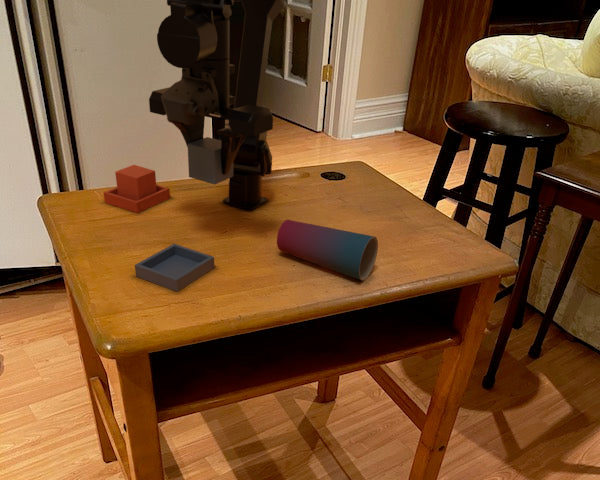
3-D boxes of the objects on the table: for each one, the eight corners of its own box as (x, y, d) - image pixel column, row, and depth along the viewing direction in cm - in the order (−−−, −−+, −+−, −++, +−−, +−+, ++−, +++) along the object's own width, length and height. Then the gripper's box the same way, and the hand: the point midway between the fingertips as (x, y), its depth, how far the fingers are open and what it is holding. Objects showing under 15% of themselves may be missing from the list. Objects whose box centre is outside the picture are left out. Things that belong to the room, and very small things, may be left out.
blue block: (207, 169, 95) (207, 136, 92) (233, 176, 93) (233, 143, 90) (188, 177, 91) (187, 143, 88) (215, 184, 90) (214, 150, 87)
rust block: (136, 191, 111) (133, 164, 108) (157, 197, 110) (155, 170, 106) (118, 199, 108) (114, 171, 105) (139, 205, 106) (136, 177, 103)
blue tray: (174, 254, 93) (174, 243, 92) (214, 268, 91) (214, 256, 90) (135, 276, 87) (134, 264, 86) (177, 291, 84) (176, 280, 83)
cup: (284, 207, 92) (371, 229, 86) (299, 223, 98) (381, 245, 93) (269, 248, 92) (355, 273, 86) (285, 261, 98) (366, 285, 93)
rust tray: (138, 188, 113) (137, 178, 112) (170, 198, 111) (169, 188, 110) (104, 202, 107) (103, 192, 106) (137, 213, 104) (136, 202, 103)
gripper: (117, 51, 79) (129, 169, 89) (232, 75, 73) (231, 199, 83) (169, 44, 87) (175, 152, 97) (277, 64, 81) (272, 178, 91)
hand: (211, 170), depth 92 cm, fingers closed on blue block, 5 cm apart
